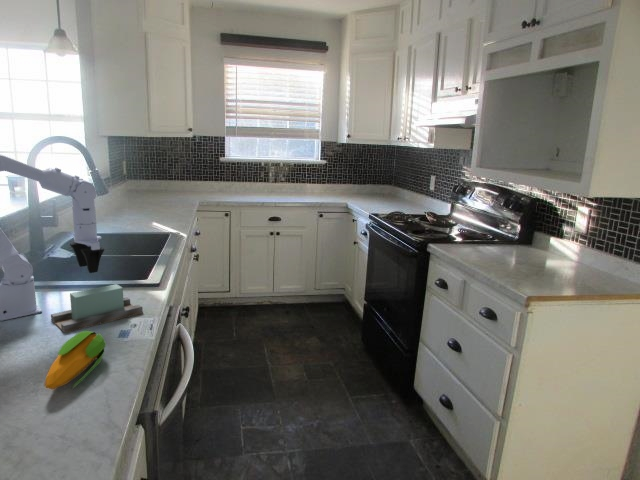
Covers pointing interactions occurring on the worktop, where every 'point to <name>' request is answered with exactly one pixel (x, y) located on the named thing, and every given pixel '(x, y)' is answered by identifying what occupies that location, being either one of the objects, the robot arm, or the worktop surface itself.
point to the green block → (96, 301)
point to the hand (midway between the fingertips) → (88, 269)
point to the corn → (75, 358)
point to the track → (93, 317)
